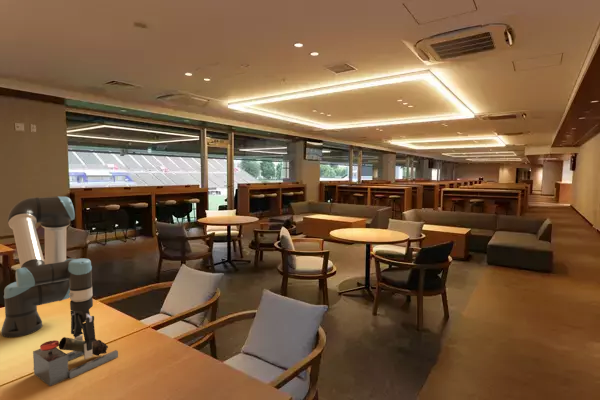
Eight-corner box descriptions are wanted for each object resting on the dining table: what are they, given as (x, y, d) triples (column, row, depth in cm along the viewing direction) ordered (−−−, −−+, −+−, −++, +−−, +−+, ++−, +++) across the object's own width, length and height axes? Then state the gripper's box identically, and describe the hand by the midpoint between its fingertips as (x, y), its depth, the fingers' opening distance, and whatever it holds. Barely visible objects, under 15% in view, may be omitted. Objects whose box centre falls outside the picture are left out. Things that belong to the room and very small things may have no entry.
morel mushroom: (62, 350, 127) (69, 334, 130) (54, 347, 131) (61, 332, 134) (106, 357, 140) (112, 342, 142) (97, 354, 144) (103, 340, 146)
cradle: (33, 373, 129) (31, 341, 128) (98, 346, 149) (97, 318, 148) (51, 387, 121) (49, 353, 120) (118, 356, 141) (117, 327, 140)
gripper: (59, 296, 137) (61, 351, 139) (83, 307, 126) (86, 366, 128) (79, 291, 143) (81, 344, 145) (104, 300, 133) (106, 357, 134)
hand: (83, 354), depth 137 cm, fingers closed on morel mushroom, 7 cm apart
